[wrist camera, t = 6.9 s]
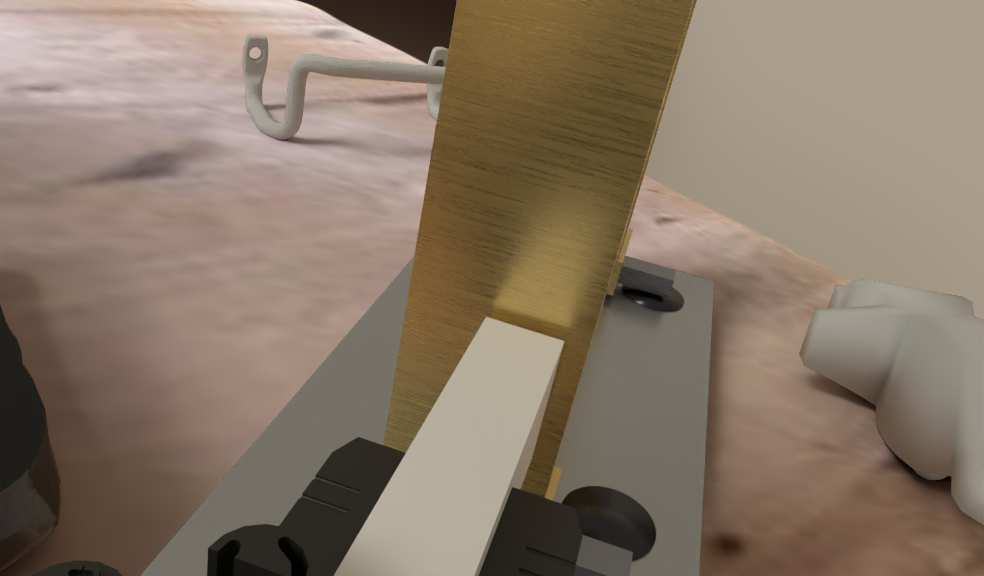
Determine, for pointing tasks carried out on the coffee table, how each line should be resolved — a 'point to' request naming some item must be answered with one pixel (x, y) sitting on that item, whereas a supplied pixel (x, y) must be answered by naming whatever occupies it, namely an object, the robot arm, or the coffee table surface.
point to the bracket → (332, 67)
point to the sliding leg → (532, 197)
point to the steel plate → (583, 453)
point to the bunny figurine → (911, 375)
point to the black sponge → (23, 459)
